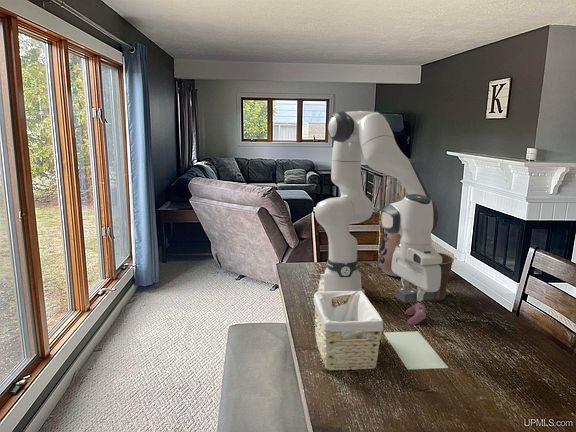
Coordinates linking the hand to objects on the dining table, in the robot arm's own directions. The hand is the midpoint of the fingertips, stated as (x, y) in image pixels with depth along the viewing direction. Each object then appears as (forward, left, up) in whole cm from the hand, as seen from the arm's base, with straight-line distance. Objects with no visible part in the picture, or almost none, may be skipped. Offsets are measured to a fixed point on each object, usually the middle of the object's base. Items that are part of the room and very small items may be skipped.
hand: (412, 296), depth 129 cm
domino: (-1, +5, +1) cm, 6 cm away
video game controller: (-18, +8, -16) cm, 25 cm away
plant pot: (-39, +22, -16) cm, 48 cm away
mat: (+3, 0, -16) cm, 16 cm away
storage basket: (+2, -21, -16) cm, 26 cm away
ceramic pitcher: (-66, +20, -16) cm, 71 cm away
